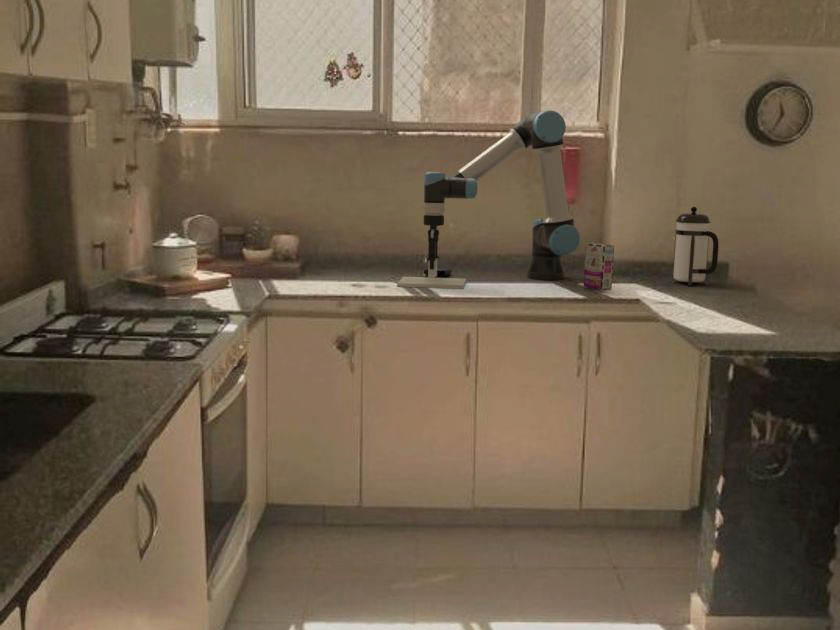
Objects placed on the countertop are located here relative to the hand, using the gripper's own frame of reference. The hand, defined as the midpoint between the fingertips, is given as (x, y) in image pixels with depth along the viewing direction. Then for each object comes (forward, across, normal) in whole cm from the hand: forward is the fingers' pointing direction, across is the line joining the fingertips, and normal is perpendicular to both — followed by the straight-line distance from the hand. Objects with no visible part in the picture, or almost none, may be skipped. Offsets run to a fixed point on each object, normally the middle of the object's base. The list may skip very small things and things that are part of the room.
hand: (432, 277), depth 339 cm
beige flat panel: (+3, 0, 0) cm, 3 cm away
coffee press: (+3, -25, +99) cm, 103 cm away
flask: (+4, -19, 0) cm, 19 cm away
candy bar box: (+3, -4, +61) cm, 61 cm away
